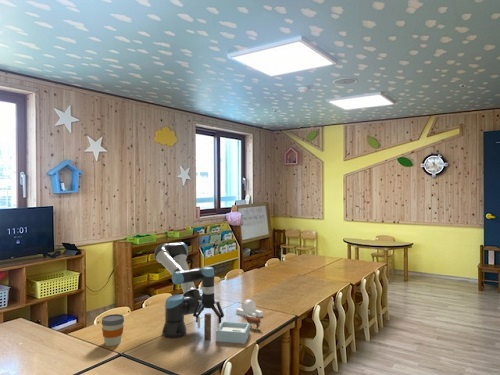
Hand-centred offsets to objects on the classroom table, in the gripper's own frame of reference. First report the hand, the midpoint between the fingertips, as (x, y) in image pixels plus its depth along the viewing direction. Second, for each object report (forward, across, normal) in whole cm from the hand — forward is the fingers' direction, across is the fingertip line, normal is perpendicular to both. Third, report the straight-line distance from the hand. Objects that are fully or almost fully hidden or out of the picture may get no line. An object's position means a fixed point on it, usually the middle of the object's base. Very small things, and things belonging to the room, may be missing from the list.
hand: (208, 328), depth 224 cm
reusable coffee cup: (+6, -55, -15) cm, 57 cm away
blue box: (+7, +14, +5) cm, 16 cm away
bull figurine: (+7, +23, +23) cm, 34 cm away
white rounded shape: (+7, +17, +48) cm, 51 cm away
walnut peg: (+7, -1, 0) cm, 7 cm away
